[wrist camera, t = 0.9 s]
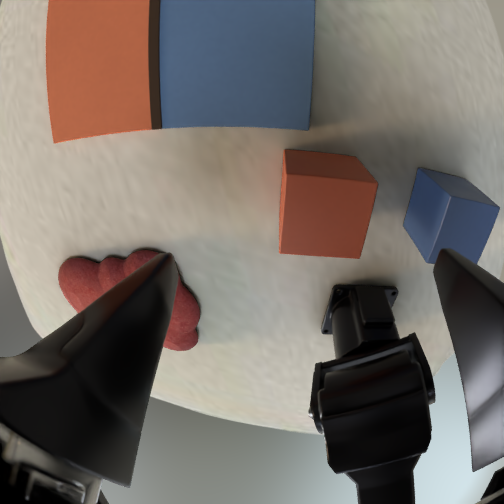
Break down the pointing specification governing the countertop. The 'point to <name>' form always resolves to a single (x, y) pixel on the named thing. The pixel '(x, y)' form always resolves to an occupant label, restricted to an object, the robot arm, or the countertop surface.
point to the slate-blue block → (448, 216)
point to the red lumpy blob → (115, 270)
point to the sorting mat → (178, 65)
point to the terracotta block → (324, 204)
